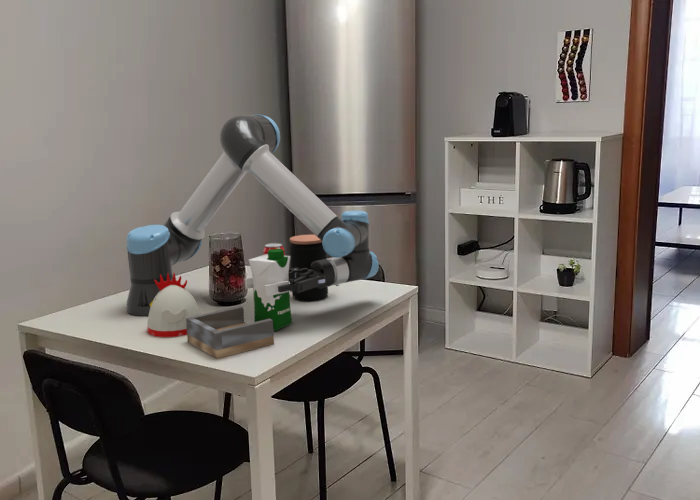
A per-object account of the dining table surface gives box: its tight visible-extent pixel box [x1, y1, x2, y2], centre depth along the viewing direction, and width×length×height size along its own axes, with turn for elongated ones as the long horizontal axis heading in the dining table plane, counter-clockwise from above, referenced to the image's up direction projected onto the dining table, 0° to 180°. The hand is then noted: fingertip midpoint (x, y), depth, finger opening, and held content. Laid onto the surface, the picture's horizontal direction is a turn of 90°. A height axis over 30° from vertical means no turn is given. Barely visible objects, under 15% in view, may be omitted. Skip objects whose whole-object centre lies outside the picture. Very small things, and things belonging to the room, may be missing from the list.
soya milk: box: [248, 249, 293, 332], centre depth 177 cm, size 9×9×20 cm
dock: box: [186, 305, 275, 359], centre depth 167 cm, size 16×15×6 cm
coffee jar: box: [289, 234, 329, 302], centre depth 204 cm, size 11×11×18 cm
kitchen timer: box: [147, 272, 202, 338], centre depth 179 cm, size 14×14×15 cm
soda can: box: [262, 242, 286, 256], centre depth 226 cm, size 7×7×12 cm
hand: (255, 287), depth 174 cm, fingers closed on soya milk, 9 cm apart
